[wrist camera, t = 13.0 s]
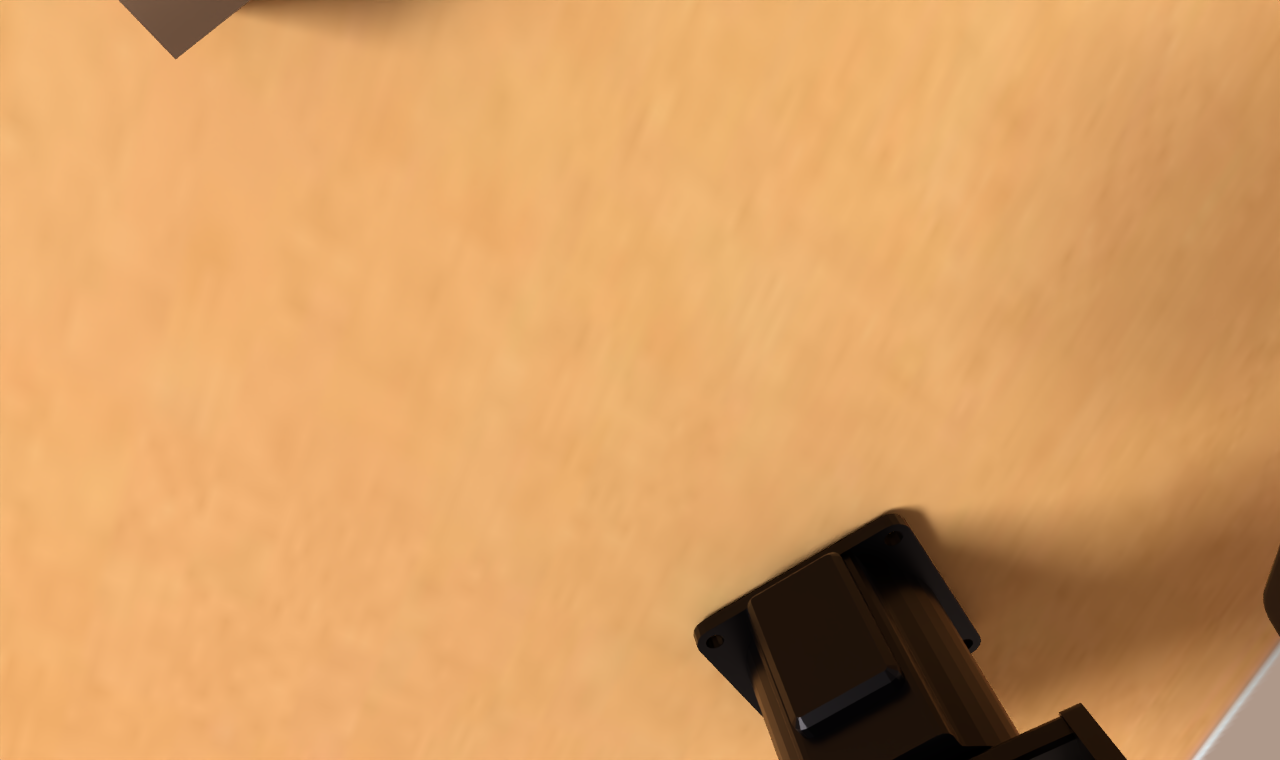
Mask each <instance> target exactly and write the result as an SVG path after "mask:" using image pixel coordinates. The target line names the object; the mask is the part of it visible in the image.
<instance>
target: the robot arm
mask: <svg viewBox="0 0 1280 760" xmlns="http://www.w3.org/2000/svg"><path fill="white" fill-rule="evenodd" d="M891 532H893V533H892V534H890V535H888V534H889V533H891ZM1263 602H1264V606H1265V610H1266V613H1267V615H1268V618H1269V620H1270V621H1271V623H1272V625H1273V626H1274V628H1275V630H1276V631H1277V633H1278V634H1279V636H1280V545H1279V548H1278V551H1277V554H1276V557H1275V560H1274V563H1273V565H1272V568H1271V571H1270V574H1269V577H1268V580H1267V583H1266V586H1265V589H1264V593H1263ZM714 635H716V636H714ZM711 636H713V637H711ZM694 638H695V641H696V645H697V647H698V649H699V651H700V652H701V653H702V654H703V655H704V656H705V657H706V658H707V659H708V660H709V661H710V662H711V663H712V664H713V666H714V667H715V668H716V669H717V670H718V671H719V672H720V673H721V674H722V675H723V676H724V677H725V678H726V679H727V680H728V681H729V682H730V683H731V684H732V685H733V686H734V687H735V688H736V689H737V690H738V692H739V693H740V694H741V695H742V696H743V697H744V698H745V699H746V700H747V701H748V702H749V703H750V704H751V705H752V706H753V707H754V708H755V709H756V710H757V711H758V712H759V713H760V714H761V715H762V716H763V718H764V720H765V723H766V726H767V728H768V731H769V734H770V737H771V740H772V742H773V745H774V748H775V751H776V753H777V756H778V759H779V760H1127V759H1126V758H1125V757H1124V755H1123V754H1122V753H1121V752H1120V751H1119V749H1118V748H1117V747H1116V746H1115V744H1114V743H1113V742H1112V741H1111V739H1110V738H1109V737H1108V736H1107V734H1106V733H1105V732H1104V731H1103V729H1102V728H1101V727H1100V726H1099V724H1098V723H1097V722H1096V721H1095V720H1094V718H1093V717H1092V716H1091V715H1090V713H1089V712H1088V711H1087V710H1086V708H1085V707H1084V706H1083V705H1082V704H1081V703H1079V704H1076V705H1074V706H1072V707H1070V708H1068V709H1065V710H1063V711H1061V712H1059V715H1060V717H1058V718H1056V719H1053V720H1051V721H1049V722H1047V723H1044V724H1042V725H1040V726H1038V727H1036V728H1033V729H1031V730H1029V731H1027V732H1024V733H1022V734H1020V735H1019V733H1018V731H1017V730H1016V728H1015V726H1014V725H1013V723H1012V721H1011V720H1010V718H1009V716H1008V715H1007V713H1006V711H1005V710H1004V708H1003V706H1002V705H1001V703H1000V701H999V700H998V698H997V696H996V695H995V693H994V691H993V690H992V688H991V686H990V685H989V683H988V681H987V680H986V678H985V676H984V675H983V673H982V671H981V670H980V668H979V666H978V665H977V663H976V661H975V660H974V658H973V656H972V655H971V653H972V652H974V651H975V650H976V649H977V648H978V647H979V645H980V642H981V639H980V636H979V634H978V633H977V631H976V630H975V628H974V626H973V625H972V623H971V622H970V620H969V619H968V617H967V616H966V614H965V612H964V611H963V609H962V608H961V606H960V605H959V603H958V602H957V600H956V599H955V597H954V595H953V594H952V592H951V591H950V589H949V588H948V586H947V585H946V583H945V581H944V580H943V578H942V577H941V575H940V574H939V572H938V571H937V569H936V567H935V566H934V564H933V563H932V561H931V560H930V558H929V557H928V555H927V554H926V552H925V550H924V549H923V547H922V546H921V544H920V543H919V541H918V540H917V538H916V536H915V535H914V533H913V532H912V530H911V529H910V527H909V526H908V524H907V523H906V521H905V519H904V518H903V517H901V516H900V515H897V514H888V515H885V516H883V517H880V518H878V519H877V520H875V521H873V522H872V523H870V524H868V525H866V526H865V527H863V528H861V529H860V530H858V531H856V532H854V533H853V534H851V535H849V536H848V537H846V538H844V539H842V540H841V541H839V542H837V543H836V544H834V545H832V546H830V547H829V548H827V549H825V550H824V551H822V552H820V553H818V554H817V555H815V556H813V557H812V558H810V559H808V560H806V561H805V562H803V563H801V564H800V565H798V566H796V567H794V568H793V569H791V570H789V571H788V572H786V573H784V574H782V575H781V576H779V577H777V578H776V579H774V580H772V581H770V582H769V583H767V584H765V585H764V586H762V587H760V588H758V589H757V590H755V591H753V592H752V593H750V594H748V595H746V596H745V597H743V598H741V599H740V600H738V601H736V602H734V603H733V604H731V605H729V606H728V607H726V608H724V609H722V610H721V611H719V612H717V613H716V614H714V615H712V616H710V617H709V618H707V619H705V620H704V621H702V622H701V623H699V624H698V625H697V626H696V628H695V630H694Z"/></svg>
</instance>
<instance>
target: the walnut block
mask: <svg viewBox="0 0 1280 760" xmlns="http://www.w3.org/2000/svg"><path fill="white" fill-rule="evenodd" d="M119 1H120V2H121V3H122V4H123V5H124V6H125V7H126V8H127V9H128V10H129V11H130V12H131V14H132V15H133V16H134V17H135V18H136V19H137V20H138V21H139V22H140V23H141V24H142V25H143V26H144V27H145V28H146V29H147V30H148V31H149V32H150V33H151V34H152V35H153V36H154V37H155V38H156V40H157V41H158V42H159V43H160V44H161V45H162V46H163V47H164V48H165V49H166V50H167V51H168V52H169V53H170V54H171V55H172V56H173V57H174V58H175V59H177V58H178V57H179V56H180V55H182V54H183V53H184V52H186V51H187V50H188V49H189V48H191V47H192V46H193V45H194V44H196V43H197V42H198V41H199V40H201V39H202V38H203V37H204V36H206V35H207V34H208V33H209V32H211V31H212V30H213V29H215V28H216V27H217V26H218V25H220V24H221V23H222V22H223V21H225V20H226V19H227V18H228V17H230V16H231V15H232V14H233V13H235V12H236V11H237V10H239V9H240V8H241V7H242V6H244V5H245V4H246V3H247V2H249V1H250V0H119Z"/></svg>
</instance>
